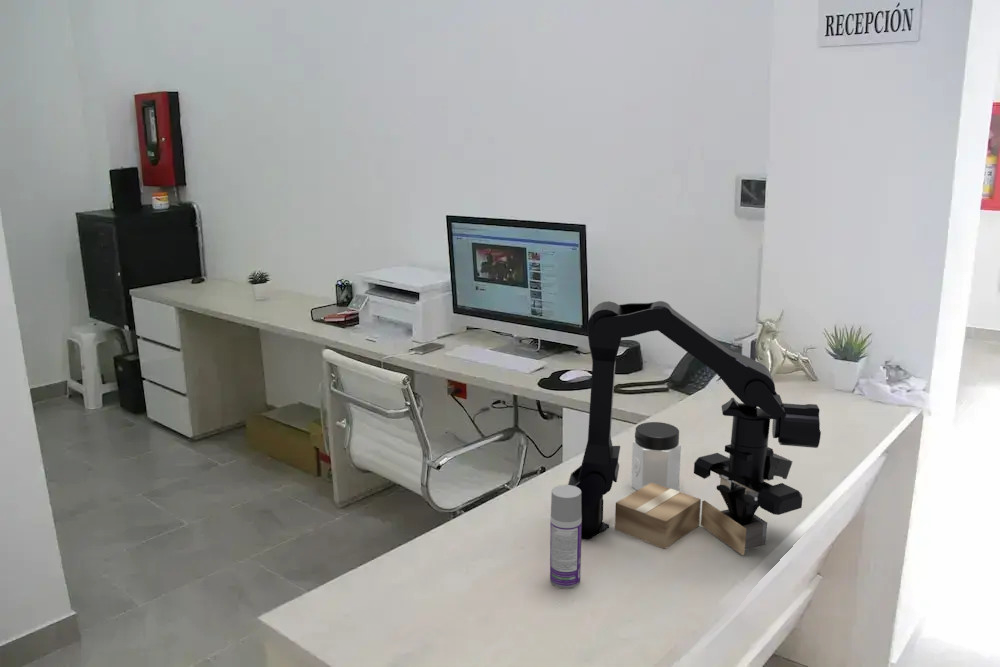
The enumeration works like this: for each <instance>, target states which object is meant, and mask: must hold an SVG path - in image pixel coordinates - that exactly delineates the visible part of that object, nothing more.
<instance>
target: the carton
mask: <svg viewBox="0 0 1000 667" xmlns="http://www.w3.org/2000/svg"><path fill="white" fill-rule="evenodd" d="M701 504H702V500H701V498H699V497H696V496H692V495H689V494H687V493H684V492H681V491H679V490H674V489H670V488H667V487H664V486H661V485H658V484H655V483H652V482H651V483H650V484H648V485H646V486H644V487H643V488H641V489H639V490H636V491H634V492H632V493H630V494H629V495H627V496H625V497H623V498H622V499H620V500H617V501H616V502H615V510H614V511H615V512H614V514H615V515H614V516H615V517H614V530H615V531H618V532H621V533H623V534H626V535H629V536H631V537H633V538H636V539H639V540H640V541H641V540H642V541H644V542H647V543H649V544H651V545H654V546H655V547H657V548H658V547H659V548H661V549H667V548H668V547H670V546H671V545H673V544H674V543H676V542H677V541H678V540H680V539H681V538H683V537H685V536H686V535H687V534H689V533H690V532H692V531H693V530H695V529H696V528H698V527H699V526H700V521H701V519H700V518H701Z"/></svg>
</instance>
